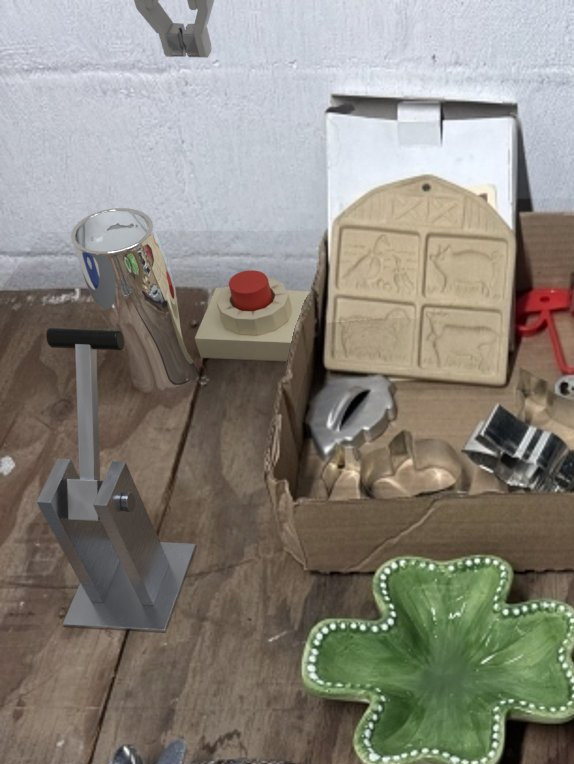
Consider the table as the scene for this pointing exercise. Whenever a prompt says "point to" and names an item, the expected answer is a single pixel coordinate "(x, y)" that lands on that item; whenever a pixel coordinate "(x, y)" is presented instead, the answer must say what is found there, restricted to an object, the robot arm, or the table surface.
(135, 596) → the bracket
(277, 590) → the table surface
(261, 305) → the button
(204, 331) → the button box
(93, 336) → the lever
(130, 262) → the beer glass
